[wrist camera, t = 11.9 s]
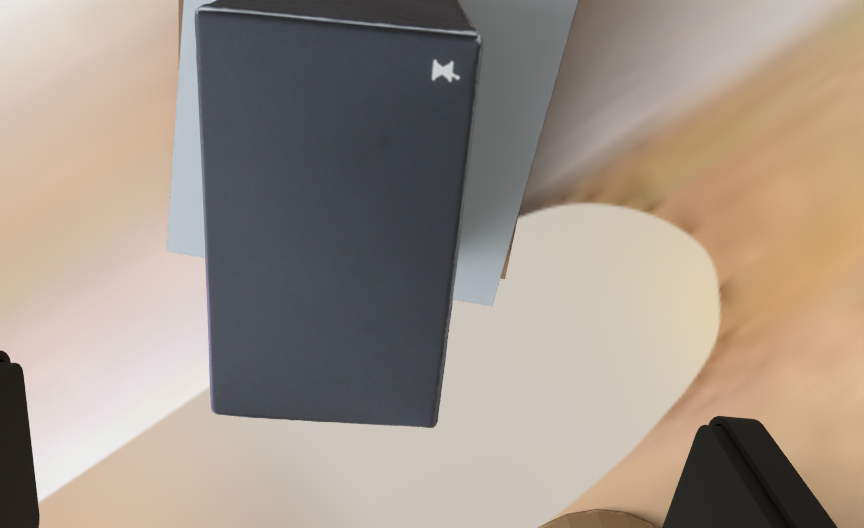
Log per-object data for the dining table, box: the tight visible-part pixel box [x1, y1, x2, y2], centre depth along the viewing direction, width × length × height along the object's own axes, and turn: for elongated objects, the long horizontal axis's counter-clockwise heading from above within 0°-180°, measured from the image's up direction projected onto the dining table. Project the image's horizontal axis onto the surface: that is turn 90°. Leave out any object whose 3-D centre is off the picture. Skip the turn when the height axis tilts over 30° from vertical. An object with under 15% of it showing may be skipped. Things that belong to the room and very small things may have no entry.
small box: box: [195, 0, 483, 428], centre depth 22 cm, size 11×6×10 cm, turn 175°
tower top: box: [166, 0, 578, 306], centre depth 28 cm, size 13×13×4 cm
